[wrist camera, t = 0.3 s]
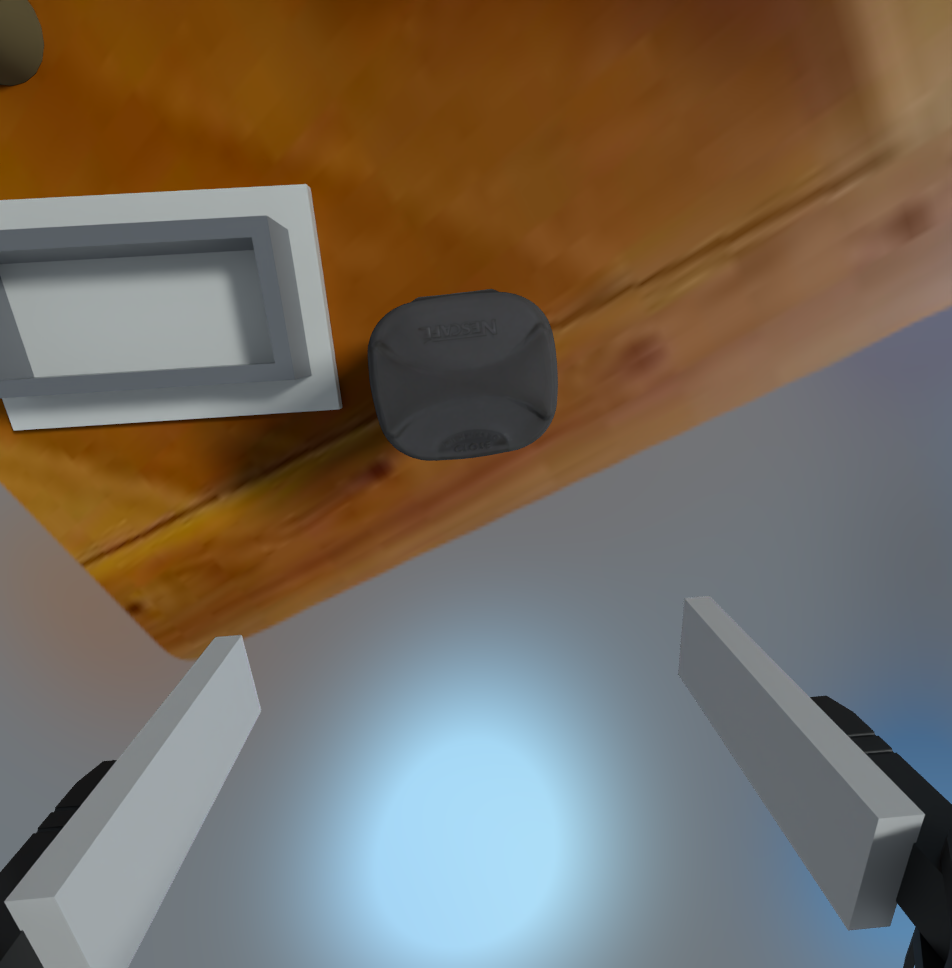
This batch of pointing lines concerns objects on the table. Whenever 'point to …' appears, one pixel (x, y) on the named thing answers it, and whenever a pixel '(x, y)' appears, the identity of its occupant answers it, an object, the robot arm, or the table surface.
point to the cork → (19, 42)
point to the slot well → (163, 307)
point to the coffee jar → (463, 375)
